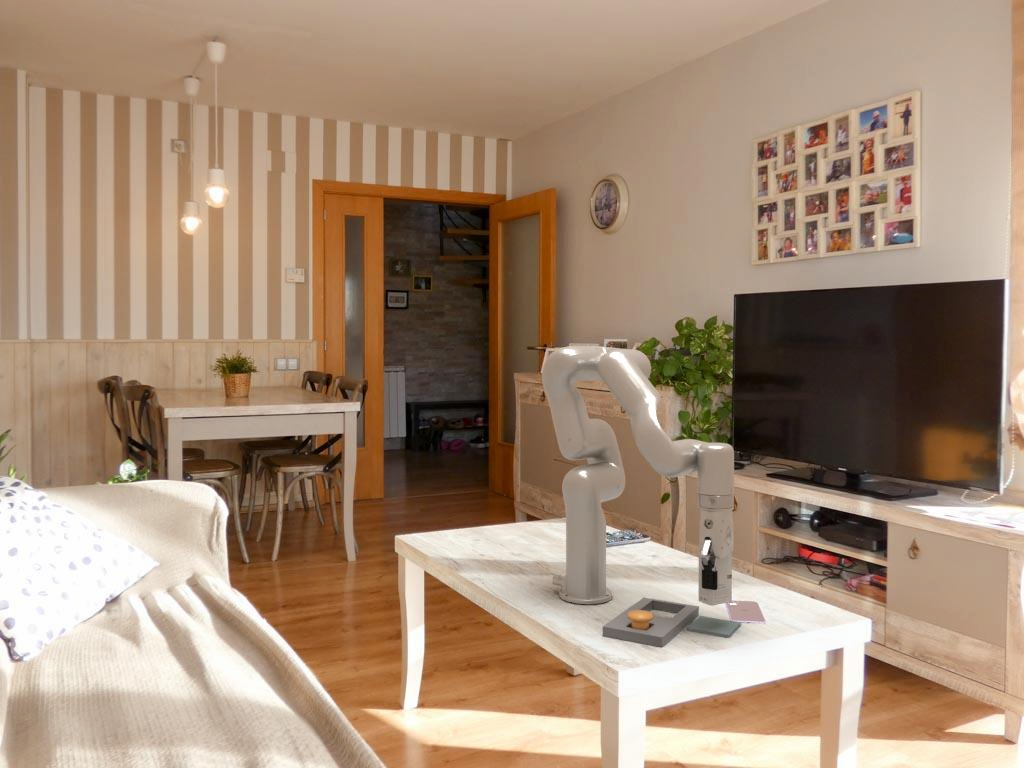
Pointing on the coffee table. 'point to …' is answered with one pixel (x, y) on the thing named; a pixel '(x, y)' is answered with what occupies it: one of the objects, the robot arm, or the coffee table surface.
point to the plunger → (640, 619)
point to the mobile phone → (745, 612)
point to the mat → (714, 626)
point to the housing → (652, 622)
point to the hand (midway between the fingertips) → (715, 583)
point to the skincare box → (724, 582)
